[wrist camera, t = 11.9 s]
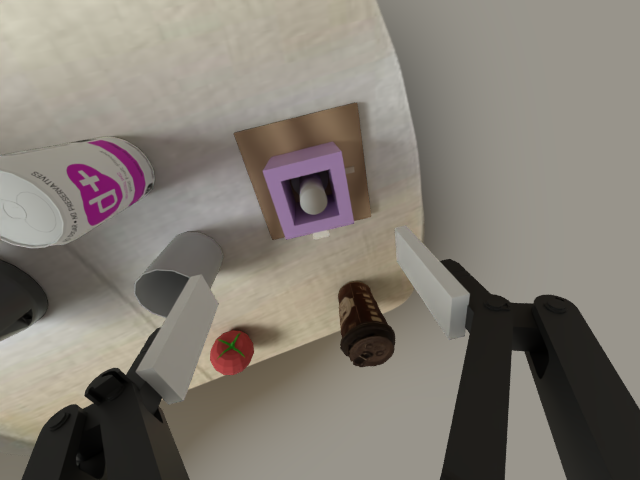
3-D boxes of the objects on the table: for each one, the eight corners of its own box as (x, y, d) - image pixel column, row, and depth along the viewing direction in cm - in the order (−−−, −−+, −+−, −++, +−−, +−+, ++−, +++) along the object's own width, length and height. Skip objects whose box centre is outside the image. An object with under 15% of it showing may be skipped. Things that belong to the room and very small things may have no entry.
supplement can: (151, 140, 32) (51, 167, 19) (161, 200, 36) (84, 257, 23) (80, 131, 31) (-79, 152, 18) (98, 194, 34) (-21, 250, 21)
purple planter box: (270, 157, 33) (262, 171, 26) (332, 141, 32) (341, 151, 25) (291, 221, 38) (288, 247, 31) (345, 208, 37) (355, 232, 30)
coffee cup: (333, 312, 50) (344, 374, 38) (328, 280, 46) (339, 339, 34) (375, 305, 50) (399, 365, 38) (374, 273, 46) (400, 329, 34)
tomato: (229, 390, 45) (227, 373, 40) (202, 362, 48) (198, 343, 43) (261, 357, 51) (263, 338, 46) (236, 334, 54) (235, 314, 49)
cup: (233, 260, 42) (217, 302, 33) (196, 282, 43) (171, 327, 34) (197, 222, 38) (167, 258, 29) (157, 247, 39) (118, 288, 31)
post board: (273, 236, 40) (266, 274, 31) (235, 132, 32) (212, 143, 23) (369, 213, 40) (390, 246, 31) (355, 102, 32) (378, 102, 23)
